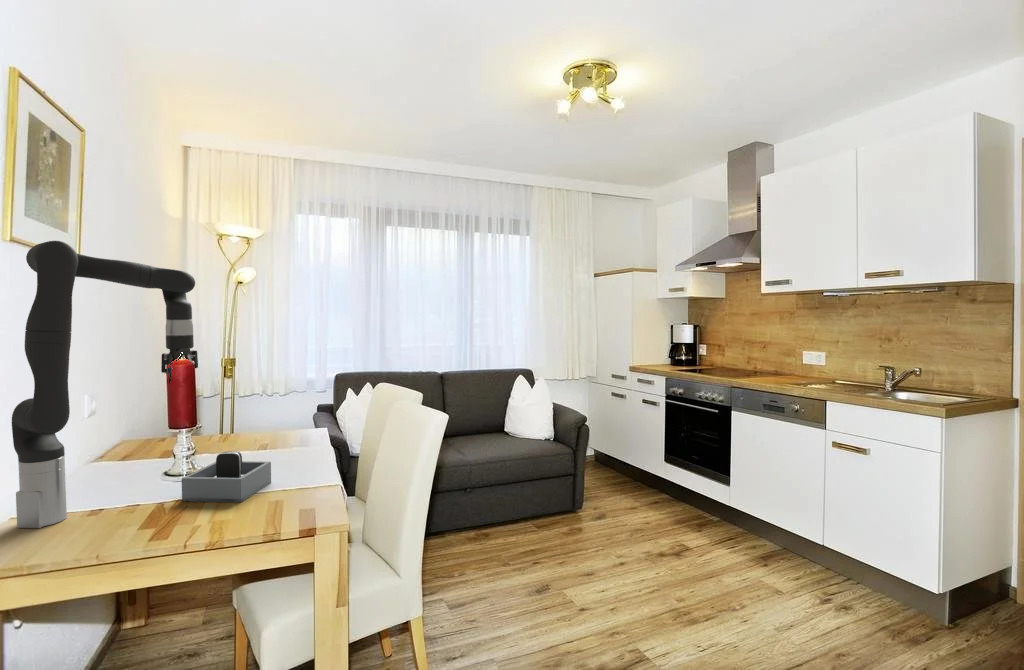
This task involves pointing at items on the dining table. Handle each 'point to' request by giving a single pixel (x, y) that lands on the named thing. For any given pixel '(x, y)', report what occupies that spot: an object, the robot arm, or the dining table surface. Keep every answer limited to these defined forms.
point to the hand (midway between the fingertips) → (180, 384)
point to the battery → (229, 465)
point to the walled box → (226, 483)
